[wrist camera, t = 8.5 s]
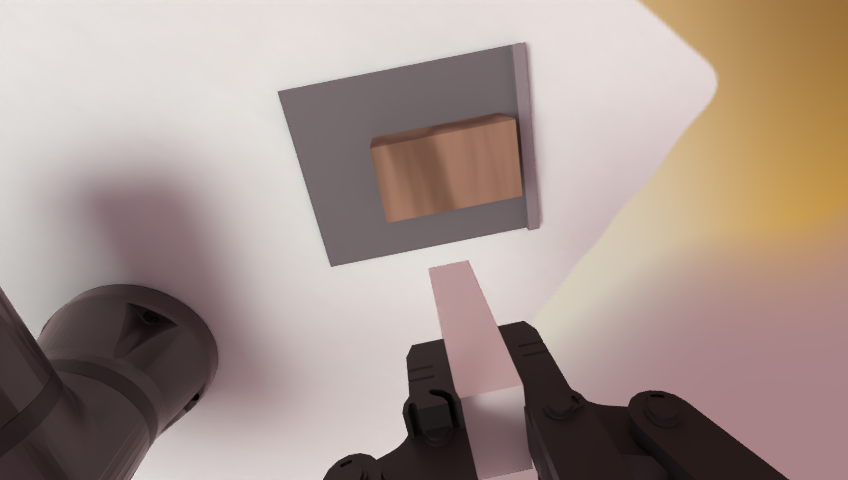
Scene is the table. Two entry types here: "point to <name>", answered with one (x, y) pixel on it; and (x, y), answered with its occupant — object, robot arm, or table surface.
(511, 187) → the walnut block
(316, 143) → the mat
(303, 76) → the table surface
